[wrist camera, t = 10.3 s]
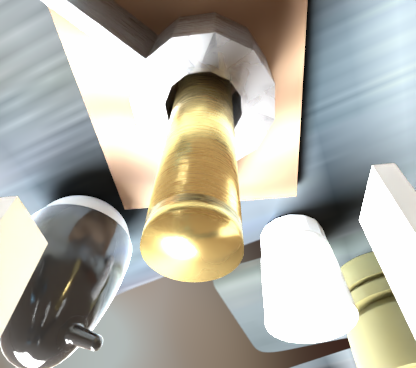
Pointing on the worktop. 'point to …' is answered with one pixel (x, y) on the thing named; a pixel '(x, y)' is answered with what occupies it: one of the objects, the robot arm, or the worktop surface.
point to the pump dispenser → (68, 282)
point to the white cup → (303, 283)
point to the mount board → (126, 76)
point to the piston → (377, 318)
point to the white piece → (182, 65)
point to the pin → (196, 187)
